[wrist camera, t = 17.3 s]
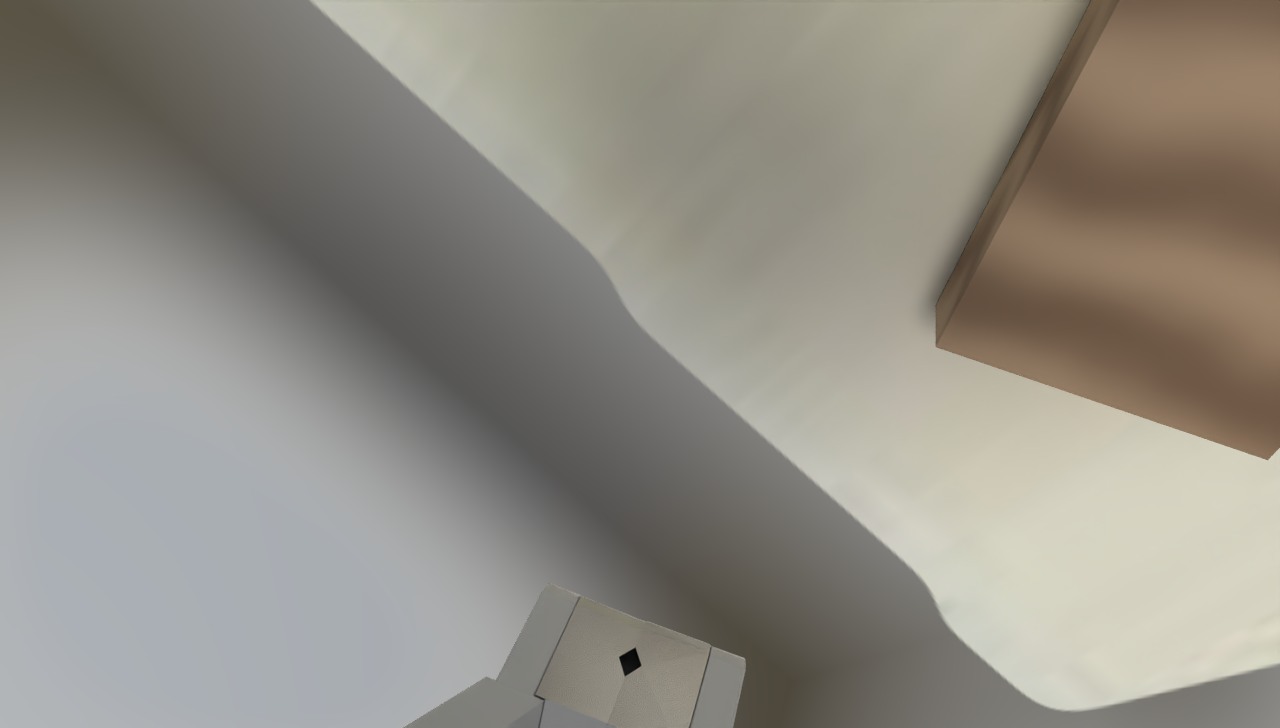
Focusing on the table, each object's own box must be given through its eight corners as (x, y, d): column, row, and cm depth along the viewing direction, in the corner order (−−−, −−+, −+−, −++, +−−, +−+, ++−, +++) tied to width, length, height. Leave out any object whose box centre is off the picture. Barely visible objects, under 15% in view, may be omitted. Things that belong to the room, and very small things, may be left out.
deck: (1174, -163, 26) (1208, -167, 23) (1634, -54, 24) (1742, -41, 21) (935, 305, 37) (935, 346, 34) (1237, 406, 35) (1267, 460, 32)
